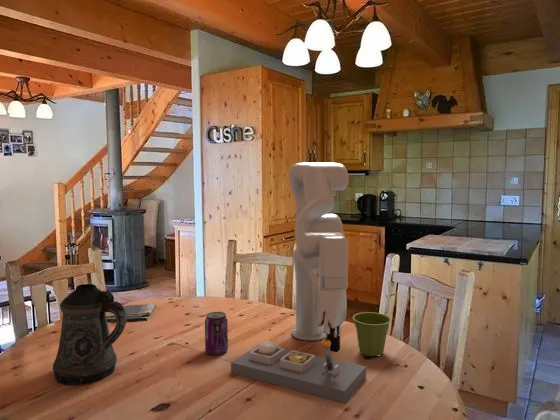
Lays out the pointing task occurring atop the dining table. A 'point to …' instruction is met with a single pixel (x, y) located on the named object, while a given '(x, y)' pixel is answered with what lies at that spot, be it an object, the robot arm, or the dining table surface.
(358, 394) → the dining table surface
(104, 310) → the beer stein
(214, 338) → the beverage can
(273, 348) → the ivory button
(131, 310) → the dish towel
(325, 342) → the lever
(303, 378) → the switch panel
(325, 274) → the robot arm
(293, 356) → the brass button
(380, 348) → the plant pot
